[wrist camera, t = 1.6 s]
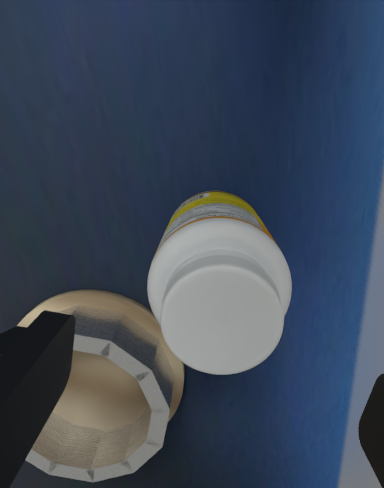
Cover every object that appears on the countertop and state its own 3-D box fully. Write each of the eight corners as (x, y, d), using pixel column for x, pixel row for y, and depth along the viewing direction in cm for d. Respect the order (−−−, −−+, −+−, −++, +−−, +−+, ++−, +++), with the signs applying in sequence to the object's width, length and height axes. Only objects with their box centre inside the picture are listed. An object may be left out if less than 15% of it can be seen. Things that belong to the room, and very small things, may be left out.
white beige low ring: (17, 293, 21) (-13, 318, 18) (184, 324, 21) (181, 353, 18) (13, 425, 24) (-12, 463, 22) (159, 451, 25) (153, 492, 22)
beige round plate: (13, 274, 22) (5, 280, 21) (199, 308, 22) (198, 315, 21) (10, 420, 26) (3, 431, 25) (169, 448, 26) (168, 460, 25)
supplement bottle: (244, 287, 22) (275, 414, 12) (158, 264, 21) (117, 374, 12) (275, 202, 20) (339, 269, 10) (181, 176, 20) (156, 218, 10)
